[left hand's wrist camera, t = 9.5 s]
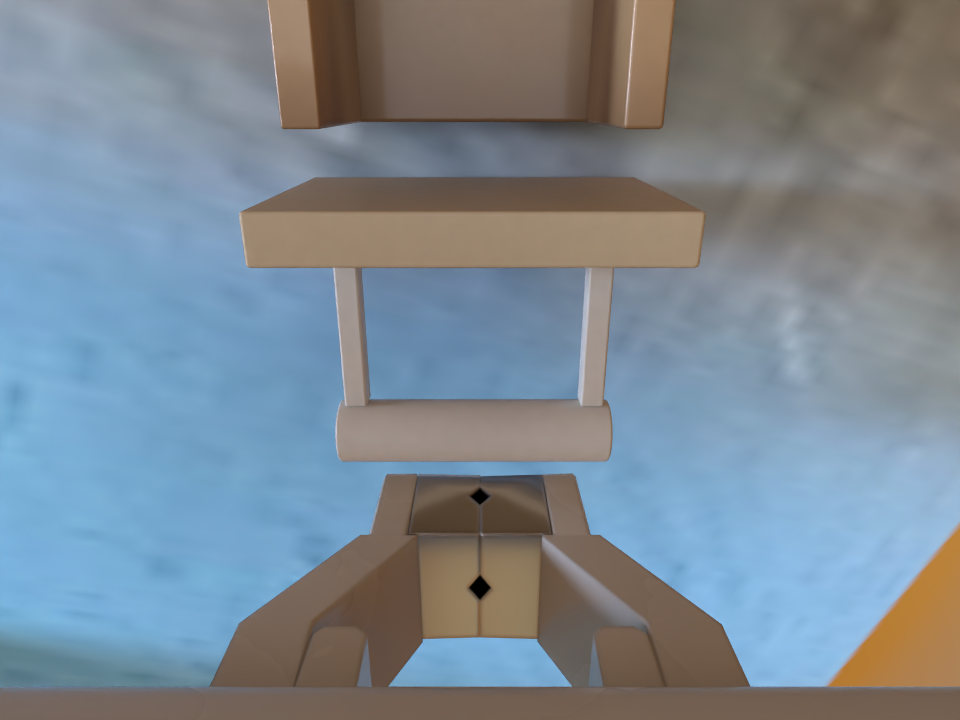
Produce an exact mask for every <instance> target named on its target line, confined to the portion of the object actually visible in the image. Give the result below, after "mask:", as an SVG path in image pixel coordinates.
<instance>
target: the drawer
mask: <svg viewBox="0 0 960 720" xmlns="http://www.w3.org/2000/svg"><path fill="white" fill-rule="evenodd" d="M675 2H676V0H267V3H268V12H269V21H270V30H271V39H272V48H273V58H274V67H275V76H276V85H277V94H278V104H279V113H280V122H281V127H282V128H283V129H321V128H327V127H333V126H339V125H345V124H351V123H357V122H592V123H598V124H603V125H608V126H614V127H619V128H625V129H660V128H662V126H663V122H664V112H665V102H666V92H667V82H668V72H669V62H670V52H671V42H672V32H673V22H674V12H675ZM705 217H706V215H705V212H703V211H701V210H699V209H697V208H695V207H693V206H691V205H689V204H687V203H685V202H683V201H681V200H679V199H677V198H675V197H673V196H671V195H669V194H667V193H665V192H663V191H661V190H659V189H657V188H655V187H652V186H650V185H648V184H646V183H644V182H642V181H640V180H638V179H636V178H634V177H315V178H313V179H311V180H309V181H307V182H304V183H302V184H300V185H298V186H296V187H294V188H291V189H289V190H287V191H285V192H283V193H281V194H278V195H276V196H274V197H272V198H270V199H268V200H265V201H263V202H261V203H259V204H257V205H255V206H252V207H250V208H248V209H246V210H244V211H242V212H240V214H239V218H240V225H241V232H242V240H243V247H244V254H245V261H246V265H247V267H250V268H333V272H334V284H335V295H336V306H337V318H338V329H339V341H340V352H341V364H342V375H343V387H344V398H345V399H344V400H342V401H341V402H340V405H339V407H338V411H337V417H336V431H335V436H336V449H337V454H338V457H339V459H340V460H341V461H343V462H605V461H608V459H609V457H610V454H611V449H612V417H611V411H610V407H609V404H608V402H607V401H606V400H604V387H605V375H606V362H607V349H608V337H609V324H610V312H611V299H612V286H613V274H614V268H695V267H698V266H699V263H700V255H701V247H702V240H703V232H704V224H705ZM361 268H586V274H585V290H584V306H583V322H582V337H581V353H580V369H579V385H578V399H370V383H369V369H368V355H367V340H366V326H365V312H364V298H363V283H362V269H361Z"/></svg>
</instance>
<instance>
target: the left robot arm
mask: <svg viewBox="0 0 960 720" xmlns="http://www.w3.org/2000/svg"><path fill="white" fill-rule="evenodd" d="M469 637H489V638H526V639H538V641H537V642H538V643H539V644H540V645H541V647H542V648H543V649H544V651H545V652H546V653H547V654H548V656H549V657H550V658H551V660H552V661H553V662H554V663H555V665H556V666H557V667H558V669H559V670H560V671H561V672H562V674H563V675H564V676H565V678H566V679H567V680H568V681H569V683H570V684H571V685H572V687H388V686H389V684H390V683H391V682H392V681H393V679H394V678H395V677H396V676H397V674H398V673H399V672H400V670H401V669H402V668H403V667H404V665H405V664H406V663H407V661H408V660H409V659H410V658H411V656H412V655H413V654H414V652H415V651H416V650H417V649H418V647H419V646H420V645H421V643H422V642H423V640H422V639H434V638H469ZM0 720H960V687H750V685H749V683H748V680H747V678H746V676H745V674H744V672H743V670H742V667H741V665H740V663H739V661H738V659H737V657H736V654H735V652H734V650H733V648H732V646H731V644H730V641H729V639H728V637H727V635H726V633H725V631H724V628H723V626H722V624H720V623H719V622H718V621H716V620H715V619H714V618H712V617H711V616H709V615H708V614H707V613H705V612H704V611H703V610H701V609H700V608H699V607H697V606H696V605H694V604H693V603H692V602H690V601H689V600H688V599H686V598H685V597H684V596H682V595H681V594H680V593H678V592H677V591H675V590H674V589H673V588H671V587H670V586H669V585H667V584H666V583H665V582H663V581H662V580H660V579H659V578H658V577H656V576H655V575H654V574H652V573H651V572H650V571H648V570H647V569H645V568H644V567H643V566H641V565H640V564H639V563H637V562H636V561H635V560H633V559H632V558H630V557H629V556H628V555H626V554H625V553H624V552H622V551H621V550H620V549H618V548H617V547H615V546H614V545H613V544H611V543H610V542H609V541H607V540H606V539H605V538H603V537H602V536H600V535H591V534H590V530H589V526H588V523H587V519H586V515H585V511H584V507H583V504H582V500H581V496H580V492H579V488H578V484H577V481H576V477H575V476H574V475H573V474H549V475H513V476H480V475H430V474H419V475H417V474H387V475H386V476H385V478H384V480H383V484H382V488H381V491H380V495H379V499H378V503H377V507H376V511H375V515H374V519H373V522H372V526H371V530H370V534H369V535H360V536H358V537H357V538H355V539H354V540H353V541H351V542H350V543H349V544H347V545H346V546H345V547H343V548H342V549H340V550H339V551H338V552H336V553H335V554H334V555H332V556H331V557H329V558H328V559H327V560H325V561H324V562H323V563H321V564H320V565H318V566H317V567H316V568H314V569H313V570H312V571H310V572H309V573H308V574H306V575H305V576H303V577H302V578H301V579H299V580H298V581H297V582H295V583H294V584H292V585H291V586H290V587H288V588H287V589H286V590H284V591H283V592H282V593H280V594H279V595H277V596H276V597H275V598H273V599H272V600H271V601H269V602H268V603H266V604H265V605H264V606H262V607H261V608H260V609H258V610H257V611H256V612H254V613H253V614H251V615H250V616H249V617H247V618H246V619H245V620H243V621H242V622H240V623H239V625H238V627H237V629H236V631H235V633H234V635H233V638H232V640H231V642H230V644H229V646H228V648H227V650H226V653H225V655H224V657H223V659H222V661H221V663H220V665H219V667H218V670H217V672H216V674H215V676H214V678H213V680H212V682H211V685H210V687H0Z"/></svg>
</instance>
